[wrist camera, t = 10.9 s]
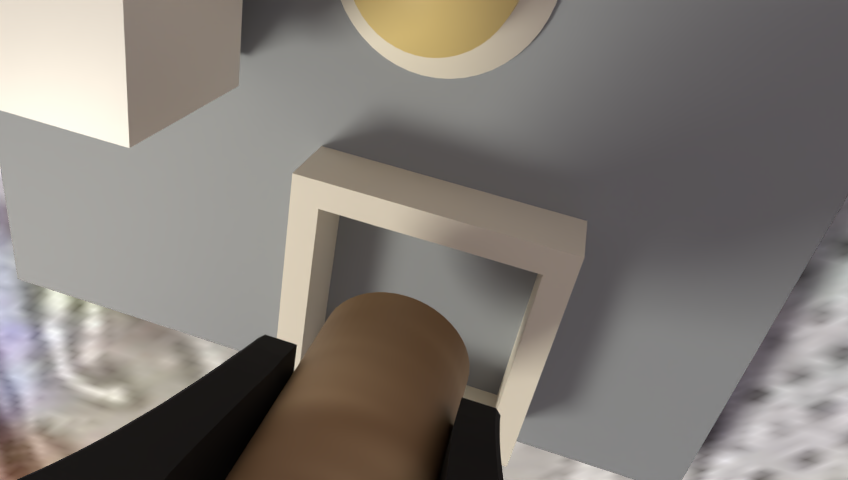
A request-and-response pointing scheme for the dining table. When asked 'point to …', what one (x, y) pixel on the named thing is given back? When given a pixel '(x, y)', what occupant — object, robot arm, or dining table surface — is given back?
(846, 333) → the dining table surface
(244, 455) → the peg
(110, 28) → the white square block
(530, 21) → the board
